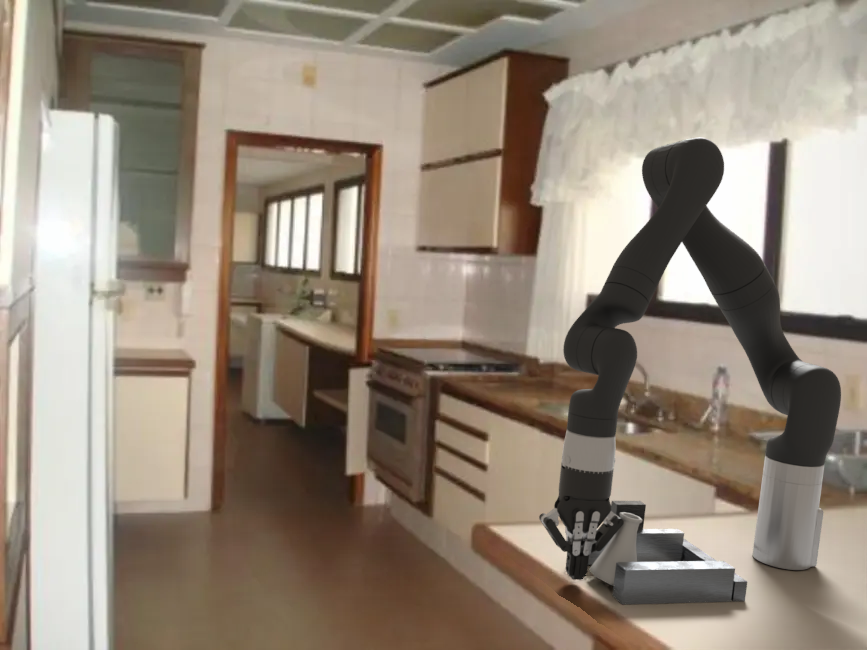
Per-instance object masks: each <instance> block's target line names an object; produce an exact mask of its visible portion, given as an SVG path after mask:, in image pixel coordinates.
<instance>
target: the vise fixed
mask: <svg viewBox="0 0 867 650" xmlns="http://www.w3.org/2000/svg"><path fill="white" fill-rule="evenodd" d="M747 588H748V580H746V579H745V578H743V577H741V576H740V575H739V574H737V573H736V567H734V566H732V565H731V564H729V563H728V562H726V561H725V560H716V559H715V558H713V557H712V556H711V555H709V554H707V553H706V552H705V551H703V550H702V549H701V548H700V547H697V546H696V545H694V544H693V543H691V541H688V540H687V539H685V538H684V539H683V548H682V556H681V561H672V562H616V569H615V578H614V585H613V588H612V597H613V598H614V599H616V601H617V602H619V604H621V605H653V604H657V605H658V604H685V603H686V604H687V603H689V604H690V603H721V602H722V603H723V602H725V603H726V602H727V603H728V602H731V603H732V602H745V601H746V596H747Z"/></svg>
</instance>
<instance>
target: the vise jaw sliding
mask: <svg viewBox="0 0 867 650" xmlns="http://www.w3.org/2000/svg"><path fill="white" fill-rule="evenodd" d="M610 504H611V507H612V508H611V511H612V512H613V513H614V514H616V515H617V516H619V517H620V512H626V513H631V514H634V515H636V516H638V517H640V518H641V519H642V523H640V524H639V527H638V530H637V538H636V552H637V562H672V561H681V556H682V548H683V539H685V532H684V531H682V530H680V529H679V528H644V524H645V516H646V515H645V514H646V506H647V504H646V503H644V502H642V501H641V500H611V502H610ZM620 518H621V517H620ZM598 529H599V528H597V530H598ZM597 530H596V531H597ZM612 538H613V537H612ZM612 538H611V539H612ZM611 539H610V540H611ZM609 542H610V541H609ZM609 542H608V543H609ZM608 543H607V544H606V545H605V546H604V548H603V549H602V550H601V551H594V552H592V553H591V554H590V555H589V560H588V566H589V565H591V566H592V564H593V563H594V562H595V561H596V559H597V558H598V557H599V555H600V554H601V553H602V552H603V550H604V549H605V547H606V546H607V545H608Z"/></svg>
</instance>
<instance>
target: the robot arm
mask: <svg viewBox="0 0 867 650" xmlns="http://www.w3.org/2000/svg"><path fill="white" fill-rule="evenodd" d="M641 166H642V167H641V174H642V175H641V176H642V180H643V184H644V186H645V189H646V191H647V193H648V195H649V196H650V199H651V200H652V201H653V203H654V204H655V206H656V207H657V209H656V211H655V212H654V213H653V215H652V216H651V217H650V218H649V220H648V221H647V222H646V224H645V225H644V226H642V228H641V229H640V230H639V231H638V232H637V233H636V234H635V236H633V237H632V238H631V239H630V241H629V242H628V243H627V245H626V246H625V247H624V248H623V250H621V252H620V254H619V255H618V257H617V258H616V260H615V262H614V263H613V265H612V268H611V270H610V272H609V273H608V276H607V278H606V280H605V282H604V285H603V286H602V289H601V290H600V293H599V294H598V295H597V296H596V297H595V298H594V299H593V300H592V301H591V302H590V303H589V305H588V306H587V307H586V308H585V309H584V311H583V312H581V314H580V315H579V317H577V319H576V320H575V321H574V322H573V324H572V325H571V326H570V328H569V330H568V332H567V334H565V338H564V342H563V349H562V351H563V357H564V360H565V362H566V364H567V365H568V366H569V367H570V368H571V369H573V370H576V371H578V372H583V373H587V374H592V375H596V376H597V379H596V382H595V384H594V386H593V388H587V389H585V388H582V389H578V390H576V391H575V390H574V392H572V394H571V395H570V398H569V399H570V400H569V405H568V414H567V423H566V424H567V425H566V432H565V437H564V441H563V445H562V453H561V462H560V473H559V482H558V497H557V499H556V500H555V501H554V505H553V508H552V509H551V510H550V511H548V512H547V513H544V512H543V513H540V514H539V516H538V517H539V518H538V519H539V521H540V522H541V524H542V525H543V527H544V528H545V530H546V531H547V533H548V535H549V536H550V537H551V539H552V541H553V542H554V544H555V546H557V547H558V548H559V549H560V550H561V551H562V552H564V553H566V561H565V571H566V574H568V576H569V578H570V579H572V580H573V581H576V580H579V581H580V580H581V581H582V580H584V577H585V576H587V574H588V569H589V568H588V567H589V565H588V560H589V555H590V554H591V553H592V552H594V551H601V550H602V549H603V548H604V546H605V545H606V544H607V543H608V542H609V541H610V539H611V538H612V537H613V536H614V535H615V534H616V532H617V531H618V530H619V529H620V528H621V526H622V525H623V524H624V521H623V519H621V518H620V517H619V516H617V515H616V514H614V513H613V512H612V511H611V508H612V507H611V502H610V499H611V496H612V490H613V489H612V488H613V478H614V472H615V471H614V470H615V468H614V467H615V463H616V450H617V449H616V448H617V447H616V445H617V444H616V438H617V437H616V435H617V428H618V419H619V418H618V416H619V408H620V406H621V402H622V400H623V398H624V395H625V392H626V389H627V387H628V385H629V381H630V380H631V377H632V375H633V372H634V370H635V368H636V364H637V361H638V360H637V358H638V347H637V343H636V341H635V339H634V336H632V334H631V333H630V332H628V331H627V330H625V329H622V328H617V327H618V326H619V325H622V324H629V323H630V324H631V323H636V322H638V321H640V320H641V319H642V318H643V317H644V315H645V313H646V311H647V310H648V307H649V304H650V303H651V300H652V298H653V296H654V295H655V292H656V290H657V288H658V286H659V283H660V281H661V279H662V277H663V275H664V273H665V271H666V269H667V267H668V265H669V264H670V262H671V260H672V258H673V257H674V255H675V254H676V251H677V250H678V249H679V247H680V245H681V244H683V246H684V248H685V250H686V251H687V252H688V254H689V257H690V258H691V260H692V261H693V263H694V265H695V266H696V268H697V270H698V271H699V273H700V274H701V276H702V278H703V280H704V282H705V284H706V286H707V288H708V290H709V291H710V294H711V296H712V297H713V299H714V301H715V302H716V304H717V306H718V308H719V309H720V311H721V313H722V314H723V316H724V317H725V319H726V321H727V323H728V324H729V326H730V328H731V330H732V332H733V334H734V336H736V338H737V341H738V342H739V344H740V346H741V347H742V349H743V350H744V352H745V354H746V356H747V358H748V360H749V363H750V366H751V368H752V371H753V373H754V375H755V377H756V380H757V382H758V384H759V387H760V389H761V392H762V393H763V396H764V398H765V399H766V401H767V403H768V404H769V405H770V406H771V407H772V408H773V409H774V410H775V411H777V412H779V413H781V414H783V415H785V416H786V421H785V422H786V423H785V427H784V431H783V432H782V434H779V435H775V436H772V437H770V438H768V439H767V441H766V446H765V454H764V461H763V469H762V476H761V477H762V479H761V486H760V493H759V501H758V508H757V515H756V523H755V531H754V539H753V547H752V556H753V558H754V559H755V560H757V561H758V562H760V563H762V564H765V565H767V566H771V567H773V568H779V569H783V570H789V571H790V570H791V571H792V570H793V571H804V570H808V569H809V568H811V567H817V566H818V565H817V564H818V558H819V556H818V555H819V548H820V541H821V534H822V527H823V526H822V525H823V519H824V509H822V508H821V507H820V502H821V501H820V500H821V494H822V486H823V480H824V479H823V477H824V471H825V463H826V458H827V456H828V453H829V452H830V451H831V448H832V447H833V443H834V439H835V435H836V430H837V429H836V428H837V424H838V419H839V418H838V417H839V416H840V415H839V414H840V409H841V408H840V407H841V401H842V387H841V383H840V380H839V378H838V376H837V375H836V374H835V373H834V371H832V370H831V369H828V368H827V367H824V366H821V365H817V364H813V363H810V362H805V361H803V360H802V359H801V358H800V357H799V356H798V355H797V353H796V352H795V351H794V349H793V348H792V346H791V345H790V343H789V341H788V339H787V337H786V335H785V334H784V331H783V329H782V324H781V299H780V293H779V291H778V287H777V284H776V283H775V280H774V278H773V277H772V275H771V273H770V271H769V269H768V267H767V266H766V264H765V262H764V261H763V259H762V258H761V256H760V255H759V253H758V252H757V251H756V250H755V249H754V248H753V247H752V246H751V245H750V244H749V243H747V242H746V241H745V240H744V239H743V238H742V237H740V236H738V234H737V233H735V232H734V231H732V229H730V228H728V226H726V225H725V224H723V223H722V222H721V221H720V220H719V219H718V218H717V217H716V216H715V215H714V214H713V213H712V212H711V210H710V209H709V207H708V206H707V205H708V204H709V202H710V201H711V200H712V198H713V197H714V195H715V194H716V192H717V190H718V189H719V188H720V184H721V183H722V180H723V178H724V174H725V161H724V157H723V153H722V151H721V150H720V148H719V146H718V145H717V144H716V143H714V141H712V140H711V139H708V138H706V137H693V138H692V137H690V138H686V139H682V140H679V141H676V142H671V143H667V144H664V145H661V146H658V147H655V148H653V149H651V150H650V151H649V152H648V153H646V155H645V157H644V159H643V161H642V165H641ZM559 519H560V520H559ZM560 521H561V522H562V524H563V525H564V528H565V529H564V530H565V535H566V539H565V537H564V536H563V534H562V533H561V531H560V529H559V528H558V526H559V524H560ZM597 529H598V530H597ZM596 530H597V531H596Z"/></svg>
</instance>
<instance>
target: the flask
mask: <svg viewBox="0 0 867 650" xmlns="http://www.w3.org/2000/svg"><path fill="white" fill-rule="evenodd" d="M620 517H621V519H623V521H624V524H623V525H622V526H621V528H620V529H619V530H618V531H617V532H616V534H615V535H614V536H613V538H612V539H611V540H610V542H609V543H608V545H607V546H606V547H605V549H604V550H603V552H602V553H601V554H600V555H599V557H598V558H597V559H596V561H595V562H594V563H593V564H592V565H591V566H590V567H589V568H588V571H589V572H590V573H591V574H592V575H593V576H594V578H597V579H598V580H601V581H603V582H604V583H607V584H608V585H610V586H614V578H615V569H616V562H637V552H636V538H637V530H638V527H639V524H640V523H642V519H641V518H640V517H638V516H636V515H634V514H631V513H626V512H620Z"/></svg>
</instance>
